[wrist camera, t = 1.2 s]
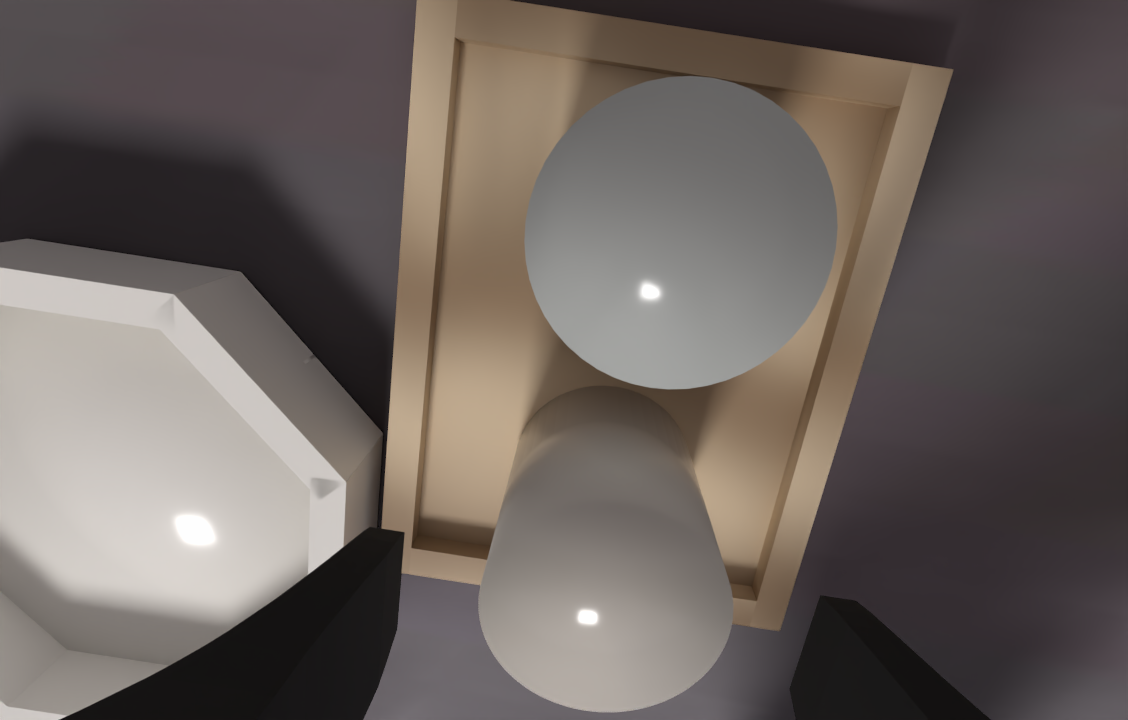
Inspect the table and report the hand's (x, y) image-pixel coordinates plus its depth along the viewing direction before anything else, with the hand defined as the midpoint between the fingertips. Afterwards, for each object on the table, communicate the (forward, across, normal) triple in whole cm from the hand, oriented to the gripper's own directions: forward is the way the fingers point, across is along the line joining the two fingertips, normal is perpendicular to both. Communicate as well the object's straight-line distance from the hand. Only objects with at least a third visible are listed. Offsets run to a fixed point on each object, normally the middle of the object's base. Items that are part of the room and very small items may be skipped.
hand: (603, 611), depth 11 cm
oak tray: (+6, 0, -3) cm, 7 cm away
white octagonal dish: (+6, +12, +3) cm, 14 cm away
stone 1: (+6, 0, -6) cm, 8 cm away
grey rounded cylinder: (+6, 0, 0) cm, 6 cm away
